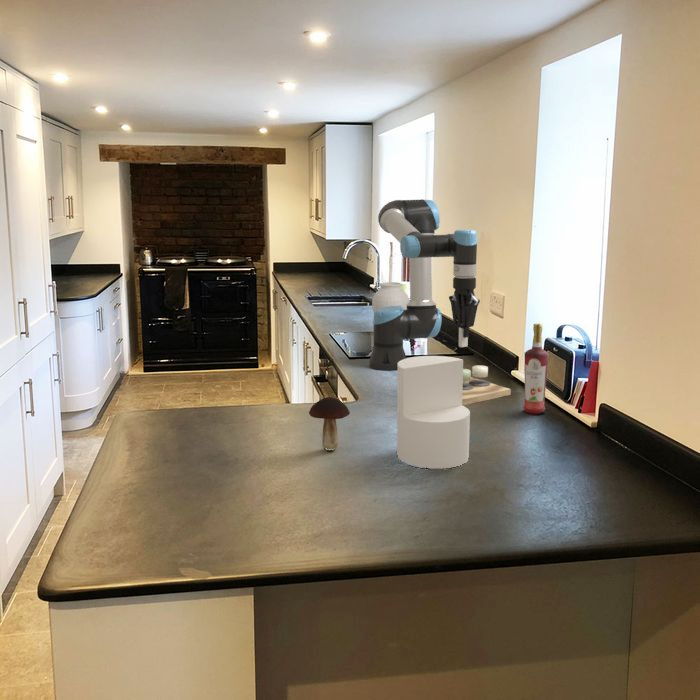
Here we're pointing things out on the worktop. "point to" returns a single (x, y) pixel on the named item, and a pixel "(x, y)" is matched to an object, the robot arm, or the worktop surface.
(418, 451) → the cylinder
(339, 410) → the decorative mushroom
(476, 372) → the cream button
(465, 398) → the button board
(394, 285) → the vase
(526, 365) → the liquor
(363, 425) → the worktop surface
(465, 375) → the sage button
